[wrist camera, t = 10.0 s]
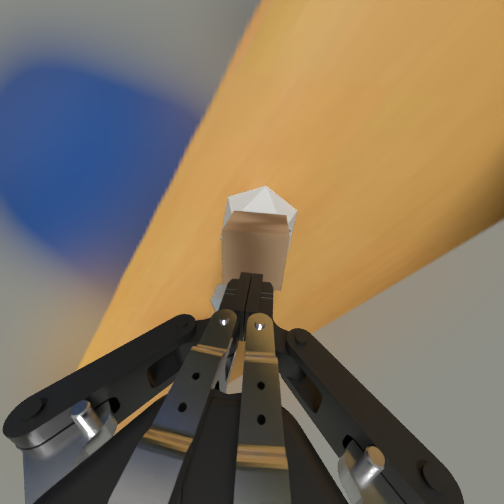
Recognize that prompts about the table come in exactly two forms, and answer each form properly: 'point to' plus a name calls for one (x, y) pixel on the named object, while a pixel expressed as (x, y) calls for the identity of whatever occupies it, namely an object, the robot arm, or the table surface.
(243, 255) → the walnut block
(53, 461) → the robot arm
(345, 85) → the table surface
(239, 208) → the die
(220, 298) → the slate block
